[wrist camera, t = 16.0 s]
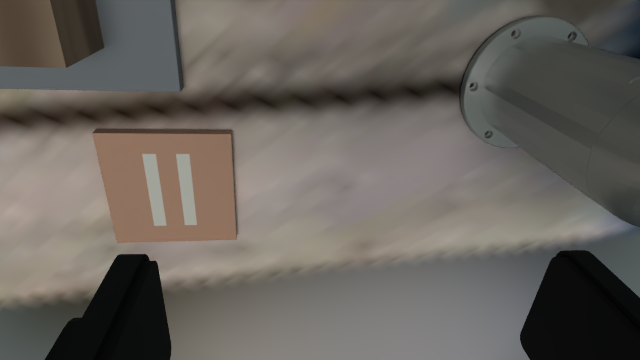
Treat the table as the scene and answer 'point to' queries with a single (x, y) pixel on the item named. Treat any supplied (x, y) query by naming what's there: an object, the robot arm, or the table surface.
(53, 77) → the slate board
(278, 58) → the table surface
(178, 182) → the tile
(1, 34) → the walnut block
